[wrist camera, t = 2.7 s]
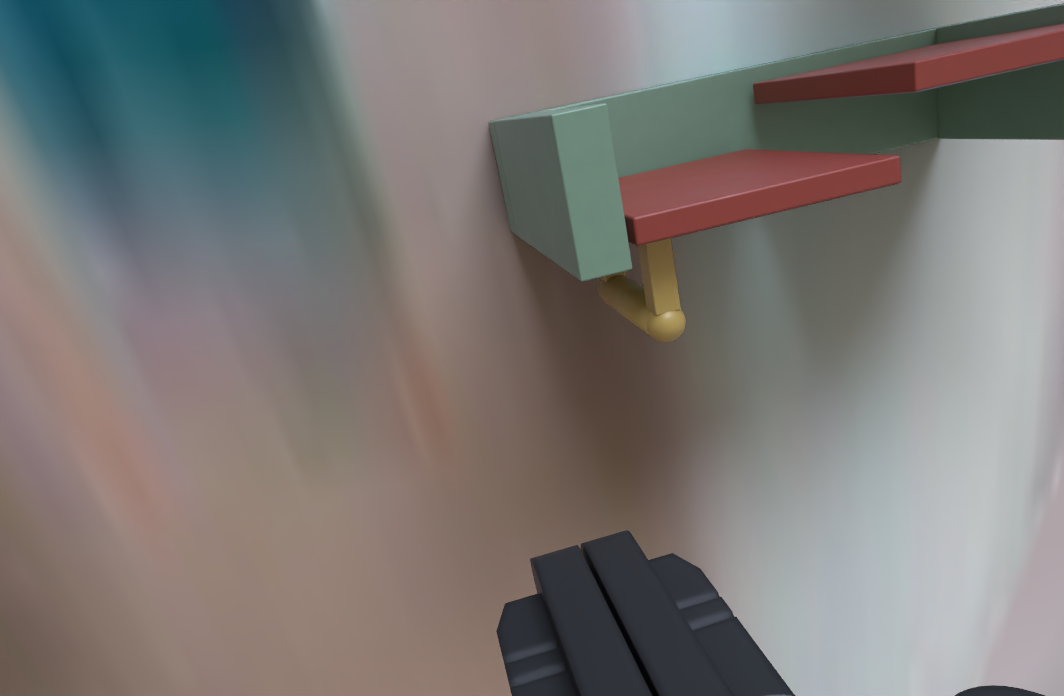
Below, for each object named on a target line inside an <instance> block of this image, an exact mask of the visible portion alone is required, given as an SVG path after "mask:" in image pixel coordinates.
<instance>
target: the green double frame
mask: <svg viewBox="0 0 1064 696" xmlns="http://www.w3.org/2000/svg"><path fill="white" fill-rule="evenodd" d="M489 128H490V133H491V138H492V142H493V147H494V152H495V157H496V162H497V167H498V171H499V176H500V181H501V186H502V191H503V196H504V201H505V205H506V210H507V215H508V220H509V225H510V230H511V231H512V232H513V233H514V234H516V235H517V236H518V237H520V238H521V239H522V240H524V241H525V242H527V243H528V244H529V245H531V246H532V247H534V248H535V249H536V250H538V251H539V252H541V253H542V254H543V255H545V256H546V257H547V258H549V259H550V260H552V261H553V262H554V263H556V264H557V265H559V266H560V267H561V268H563V269H564V270H566V271H567V272H568V273H570V274H571V275H573V276H574V277H575V278H577V279H578V280H579V281H581V282H584V281H588V280H592V279H596V278H600V277H605V276H609V275H613V274H617V273H621V272H625V271H629V270H632V261H631V255H630V249H629V242H628V236H627V229H626V223H625V217H624V210H623V204H622V198H621V191H620V185H619V178H620V177H625V176H629V175H633V174H638V173H642V172H647V171H651V170H656V169H660V168H664V167H669V166H673V165H678V164H682V163H687V162H691V161H695V160H700V159H704V158H709V157H713V156H718V155H722V154H727V153H731V152H735V151H740V150H744V149H752V150H776V151H801V152H826V153H850V154H874V153H878V152H883V151H887V150H891V149H895V148H900V147H904V146H908V145H913V144H917V143H921V142H926V141H930V140H934V139H938V138H939V139H1043V140H1064V3H1062V4H1057V5H1052V6H1047V7H1041V8H1036V9H1031V10H1026V11H1020V12H1015V13H1010V14H1005V15H999V16H994V17H989V18H984V19H978V20H973V21H968V22H963V23H957V24H952V25H947V26H942V27H937V28H932V29H927V30H923V31H918V32H913V33H908V34H903V35H899V36H894V37H889V38H884V39H880V40H875V41H870V42H865V43H861V44H856V45H851V46H846V47H841V48H837V49H832V50H827V51H822V52H818V53H813V54H808V55H803V56H799V57H794V58H789V59H784V60H779V61H775V62H770V63H765V64H760V65H756V66H751V67H746V68H741V69H737V70H732V71H727V72H722V73H717V74H713V75H708V76H703V77H698V78H694V79H689V80H684V81H679V82H675V83H670V84H665V85H660V86H655V87H651V88H646V89H641V90H636V91H632V92H627V93H622V94H617V95H612V96H608V97H603V98H598V99H593V100H589V101H584V102H579V103H574V104H570V105H565V106H560V107H555V108H550V109H546V110H541V111H536V112H531V113H527V114H522V115H517V116H512V117H508V118H503V119H498V120H493V121H490V122H489Z"/></svg>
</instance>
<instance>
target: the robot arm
mask: <svg viewBox="0 0 1064 696" xmlns="http://www.w3.org/2000/svg"><path fill="white" fill-rule="evenodd" d="M530 561H531V567H532V572H533V576H534V580H535V585H536V589H537V593H538V594H535V595H532V596H529V597H525V598H522V599H519V600H515V601H512V602H509V603H505V606H504V609H503V612H502V615H501V619H500V622H499V625H498V628H497V635H498V639H499V644H500V648H501V652H502V656H503V660H504V664H505V668H506V673H507V677H508V681H509V685H510V689H511V693H512V696H795V695H794V694H793V692H792V691H791V690H790V688H789V687H788V686H787V684H786V683H785V682H784V680H783V679H782V678H781V676H780V675H779V674H778V672H777V671H776V670H775V668H774V667H773V666H772V664H771V663H770V662H769V660H768V659H767V658H766V656H765V655H764V654H763V652H762V651H761V650H760V648H759V647H758V645H757V644H756V643H755V641H754V640H753V639H752V637H751V636H750V635H749V633H748V632H747V631H746V629H745V628H744V627H743V625H742V624H741V623H740V621H739V620H738V619H737V617H734V616H733V613H732V611H731V609H730V608H729V607H728V605H727V604H726V603H725V601H724V600H723V599H722V597H719V595H718V592H717V590H716V589H715V588H714V586H713V585H712V584H711V582H710V581H709V580H708V578H707V577H706V576H705V574H704V573H703V572H702V570H701V569H700V568H698V567H696V566H694V565H693V564H691V563H689V562H687V561H685V560H684V559H682V558H680V557H678V556H677V555H675V554H673V553H671V554H668V555H665V556H661V557H658V558H655V559H651V560H648V559H647V558H646V556H645V554H644V553H643V551H642V550H641V548H640V547H639V545H638V543H637V542H636V540H635V539H634V537H633V536H632V534H631V533H630V532H629V531H628V530H626V531H623V532H619V533H616V534H612V535H609V536H606V537H602V538H599V539H595V540H592V541H588V542H585V543H582V544H581V550H580V548H579V546H578V545H575V546H572V547H569V548H565V549H562V550H558V551H555V552H552V553H548V554H545V555H541V556H538V557H534V558H531V559H530ZM955 696H1044V695H1041V694H1038V693H1035V692H1031V691H1027V690H1024V689H1019V688H1014V687H1007V686H980V687H975V688H971V689H967V690H965V691H962V692H960V693H958V694H956V695H955Z"/></svg>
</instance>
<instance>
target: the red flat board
mask: <svg viewBox="0 0 1064 696" xmlns="http://www.w3.org/2000/svg"><path fill="white" fill-rule="evenodd" d="M900 182H901V168H900V157H899V156H897V155H875V154H850V153H826V152H801V151H776V150H752V149H744V150H740V151H735V152H731V153H727V154H722V155H718V156H713V157H709V158H704V159H700V160H695V161H691V162H687V163H682V164H678V165H673V166H669V167H664V168H660V169H656V170H651V171H647V172H642V173H638V174H633V175H629V176H625V177H620V178H619V185H620V191H621V198H622V204H623V210H624V217H625V223H626V229H627V236H628V242H631V243H633V244H635V245H637V247H638V253H639V260H640V266H641V273H642V279H643V286H644V287H643V286H641V285H640V284H638V283H636V282H634V281H632V280H631V279H629V278H627V277H626V272H621V273H617V274H613V275H609V276H605V277H600V278H601V280H602V281H601V282H600V285H599V295H600V297H601V299H602V300H603V301H604V302H605V303H606V304H608V305H609V306H610V307H612V308H613V309H614V310H616V311H617V312H618V313H620V314H621V315H623V316H624V317H625V318H627V319H628V320H629V321H631V322H632V323H633V324H635V325H636V326H637V327H639V328H640V329H642V330H643V331H644V332H646V333H647V334H648V335H650V336H651V337H652V338H654V339H655V340H658V341H660V342H671V341H674V340H676V339H677V338H679V337H680V336H681V334H682V333H683V331H684V329H685V326H686V319H685V315H684V313H683V311H682V310H681V309H680V300H679V293H678V286H677V279H676V271H675V264H674V257H673V250H672V242H671V238H673V237H677V236H682V235H686V234H690V233H694V232H698V231H702V230H707V229H711V228H715V227H719V226H723V225H727V224H732V223H736V222H740V221H744V220H748V219H753V218H757V217H761V216H765V215H769V214H773V213H778V212H782V211H786V210H790V209H794V208H798V207H803V206H807V205H811V204H815V203H819V202H824V201H828V200H832V199H836V198H840V197H844V196H849V195H853V194H857V193H861V192H865V191H869V190H874V189H878V188H882V187H886V186H890V185H895V184H898V183H900Z"/></svg>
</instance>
